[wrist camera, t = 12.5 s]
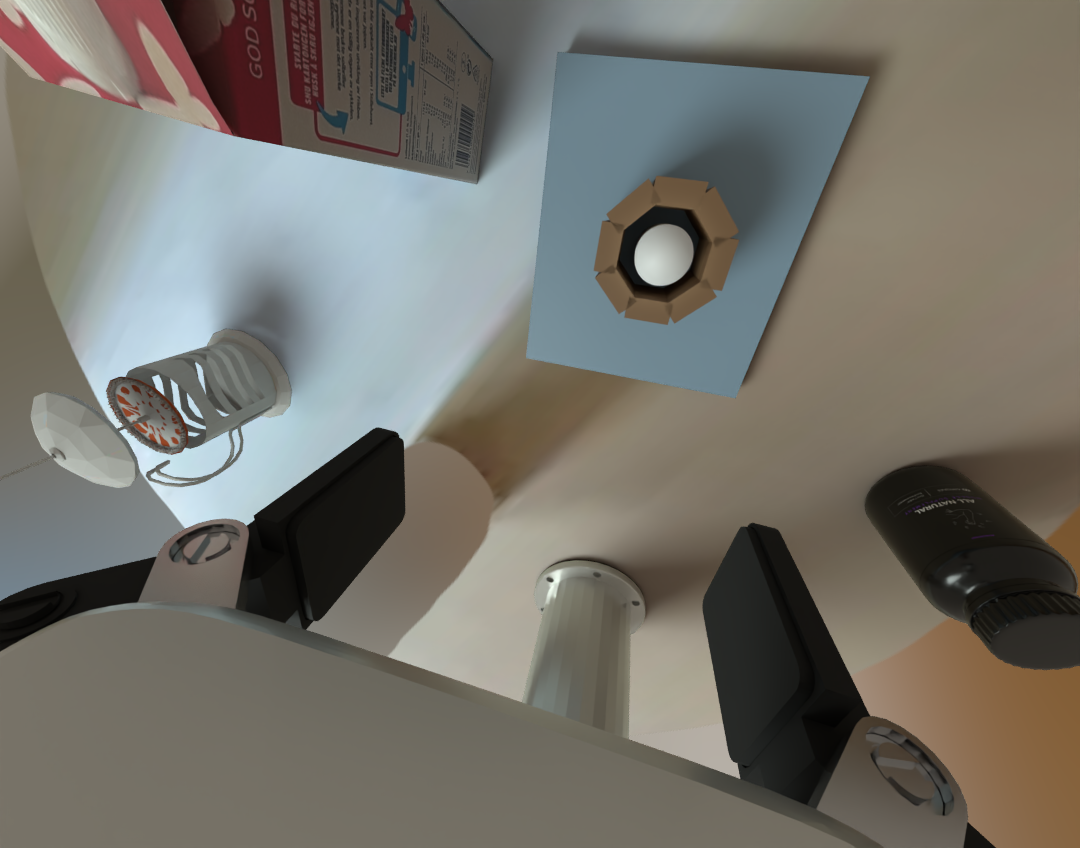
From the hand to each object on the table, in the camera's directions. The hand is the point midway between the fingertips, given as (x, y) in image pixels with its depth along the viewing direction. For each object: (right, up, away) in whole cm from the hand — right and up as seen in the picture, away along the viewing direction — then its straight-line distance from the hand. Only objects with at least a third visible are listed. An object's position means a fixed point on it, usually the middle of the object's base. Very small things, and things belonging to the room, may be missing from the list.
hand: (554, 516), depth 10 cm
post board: (+8, +15, +15) cm, 23 cm away
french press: (-30, +7, +30) cm, 43 cm away
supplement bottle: (+29, -3, +20) cm, 35 cm away
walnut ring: (+7, +14, +14) cm, 21 cm away
